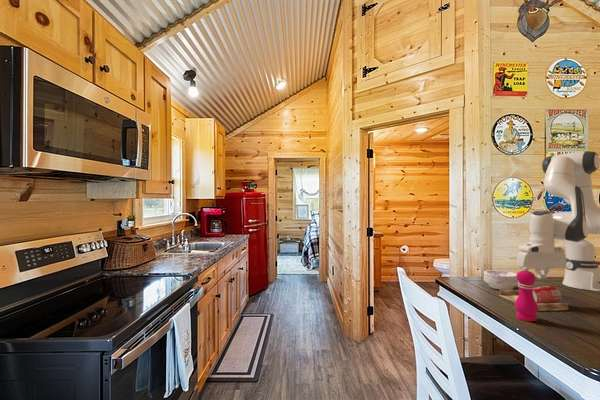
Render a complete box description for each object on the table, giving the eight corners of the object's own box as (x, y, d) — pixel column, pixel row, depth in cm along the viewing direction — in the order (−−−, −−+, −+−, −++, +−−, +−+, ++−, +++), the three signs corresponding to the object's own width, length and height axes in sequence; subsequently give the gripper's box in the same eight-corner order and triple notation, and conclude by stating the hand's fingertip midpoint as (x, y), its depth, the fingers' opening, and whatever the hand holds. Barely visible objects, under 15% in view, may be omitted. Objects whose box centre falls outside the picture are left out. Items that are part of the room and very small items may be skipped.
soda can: (555, 283, 132) (531, 285, 130) (566, 299, 128) (541, 301, 126) (543, 289, 138) (519, 291, 135) (553, 305, 133) (529, 307, 131)
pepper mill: (510, 315, 119) (509, 265, 119) (527, 314, 120) (526, 264, 120) (525, 323, 112) (524, 269, 112) (543, 322, 113) (542, 268, 113)
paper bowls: (507, 284, 163) (507, 269, 163) (526, 292, 148) (525, 276, 148) (478, 283, 165) (478, 269, 165) (493, 292, 150) (493, 276, 150)
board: (529, 294, 145) (529, 289, 145) (568, 309, 125) (568, 303, 125) (499, 295, 144) (499, 290, 144) (533, 310, 124) (533, 304, 124)
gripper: (557, 245, 138) (558, 276, 138) (514, 246, 138) (514, 276, 138) (570, 248, 132) (571, 279, 132) (525, 248, 131) (525, 280, 131)
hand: (541, 278), depth 135 cm, fingers closed
